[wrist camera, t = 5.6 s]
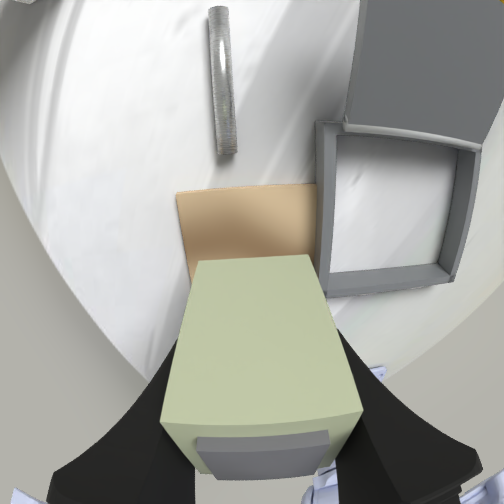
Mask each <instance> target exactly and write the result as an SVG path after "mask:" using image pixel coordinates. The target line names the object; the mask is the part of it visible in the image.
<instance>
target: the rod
mask: <svg viewBox="0 0 504 504" xmlns="http://www.w3.org/2000/svg"><path fill="white" fill-rule="evenodd" d="M208 16H209V37H210V54H211V71H212V86H213V100H214V113H215V126H216V138H217V150H218V154H232V153H237V152H238V150H237V136H236V121H235V107H234V92H233V76H232V61H231V45H230V28H229V11H228V7H225V6H215V7H212V8H210V9H208Z"/></svg>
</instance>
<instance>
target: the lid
mask: <svg viewBox="0 0 504 504" xmlns="http://www.w3.org/2000/svg"><path fill="white" fill-rule="evenodd" d="M503 98H504V4H503V3H502V2H501V1H499V0H360V7H359V17H358V26H357V34H356V42H355V50H354V57H353V64H352V70H351V77H350V83H349V89H348V95H347V101H346V106H345V112H344V117H343V121H342V125H343V130H344V131H345V132H357V133H371V134H382V135H392V136H401V137H409V138H416V139H423V140H430V141H436V142H442V143H447V144H452V145H457V146H462V147H467V148H472V149H476V150H480V149H481V147H482V144H483V142H484V140H485V138H486V136H487V134H488V132H489V130H490V128H491V126H492V124H493V121H494V119H495V117H496V115H497V113H498V110H499V108H500V106H501V103H502V101H503Z"/></svg>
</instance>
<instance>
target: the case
mask: <svg viewBox="0 0 504 504" xmlns="http://www.w3.org/2000/svg"><path fill="white" fill-rule="evenodd" d="M337 135H349V136H365V137H378V138H389V139H399V140H407V141H415V142H422V143H429V144H435V145H442V146H447V147H453V148H458V160H457V169H456V178H455V185H454V192H453V198H452V204H451V209H450V215H449V220H448V224H447V229H446V234H445V238H444V242H443V246H442V250H441V254H440V258H439V261H438V263H434V264H424V265H415V266H405V267H394V268H384V269H373V270H361V271H350V272H337V273H329V271H330V261H331V250H332V238H333V225H334V209H335V188H336V146H337ZM315 145H316V175H315V184H316V185H317V210H316V235H315V254H314V270H315V273H316V275H317V278H318V280H319V283H320V285H321V288H322V291H323V293H324V296H325V298H335V297H345V296H354V295H357V296H360V295H369V294H374V293H380V292H388V291H396V290H403V289H415V288H422V287H425V286H431V285H438V284H444V283H450V282H454V279H455V276H456V273H457V270H458V267H459V263H460V260H461V257H462V253H463V250H464V246H465V243H466V239H467V235H468V231H469V227H470V222H471V218H472V213H473V208H474V203H475V198H476V192H477V185H478V179H479V171H480V163H481V152H482V147H481V149H480V150H476V149H472V148H467V147H462V146H457V145H452V144H447V143H442V142H436V141H430V140H423V139H416V138H409V137H401V136H392V135H382V134H371V133H357V132H345V131H344V130H343V125H342V122H335V121H315Z"/></svg>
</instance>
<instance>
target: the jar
mask: <svg viewBox="0 0 504 504" xmlns="http://www.w3.org/2000/svg"><path fill="white" fill-rule="evenodd" d="M14 1H18V2H22V3H26V4H32V3H33V2H35V1H36V0H14Z"/></svg>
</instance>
